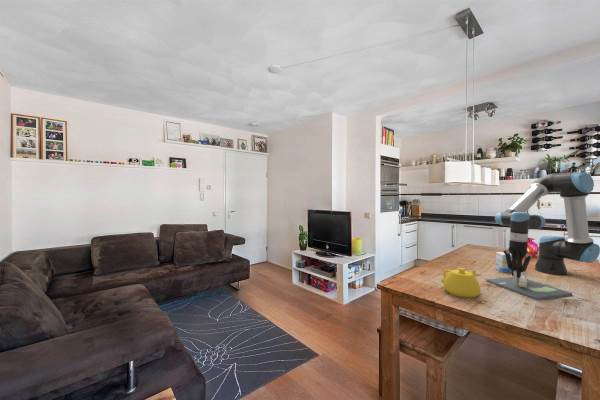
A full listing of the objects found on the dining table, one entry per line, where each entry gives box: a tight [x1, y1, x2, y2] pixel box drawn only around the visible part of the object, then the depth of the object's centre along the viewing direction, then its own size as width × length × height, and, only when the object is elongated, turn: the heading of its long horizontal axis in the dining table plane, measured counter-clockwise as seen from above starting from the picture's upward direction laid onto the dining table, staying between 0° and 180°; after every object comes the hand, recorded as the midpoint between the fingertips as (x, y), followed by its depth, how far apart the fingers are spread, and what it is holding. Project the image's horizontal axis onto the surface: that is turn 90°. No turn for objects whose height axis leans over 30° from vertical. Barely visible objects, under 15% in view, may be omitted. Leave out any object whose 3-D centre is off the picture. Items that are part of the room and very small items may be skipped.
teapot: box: [441, 267, 482, 299], centre depth 136 cm, size 20×19×13 cm
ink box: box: [494, 251, 512, 274], centre depth 169 cm, size 9×8×12 cm
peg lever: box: [516, 270, 527, 288], centre depth 140 cm, size 19×5×6 cm, turn 144°
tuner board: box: [485, 276, 573, 301], centre depth 140 cm, size 24×26×2 cm
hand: (515, 282), depth 140 cm, fingers closed
